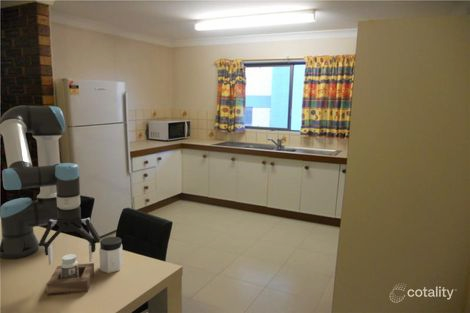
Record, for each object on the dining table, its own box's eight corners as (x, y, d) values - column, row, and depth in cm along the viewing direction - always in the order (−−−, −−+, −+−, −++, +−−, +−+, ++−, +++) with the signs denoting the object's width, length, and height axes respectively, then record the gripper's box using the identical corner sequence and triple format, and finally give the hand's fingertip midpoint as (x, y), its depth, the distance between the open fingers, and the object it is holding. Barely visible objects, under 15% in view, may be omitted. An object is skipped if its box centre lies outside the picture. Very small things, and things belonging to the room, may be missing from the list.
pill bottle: (81, 281, 121) (80, 256, 120) (65, 287, 117) (64, 262, 116) (75, 276, 125) (74, 251, 124) (59, 281, 121) (58, 256, 119)
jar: (102, 275, 128) (101, 246, 127) (98, 266, 135) (97, 239, 133) (125, 269, 133) (124, 242, 131) (120, 261, 140) (119, 234, 138)
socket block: (58, 276, 126) (57, 265, 125) (94, 273, 129) (93, 263, 129) (47, 295, 114) (46, 284, 113) (87, 292, 117) (87, 280, 116)
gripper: (25, 211, 110) (29, 269, 114) (104, 208, 116) (105, 263, 119) (33, 204, 117) (37, 259, 121) (107, 202, 123) (108, 254, 127)
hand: (71, 261), depth 120 cm, fingers open, 13 cm apart
